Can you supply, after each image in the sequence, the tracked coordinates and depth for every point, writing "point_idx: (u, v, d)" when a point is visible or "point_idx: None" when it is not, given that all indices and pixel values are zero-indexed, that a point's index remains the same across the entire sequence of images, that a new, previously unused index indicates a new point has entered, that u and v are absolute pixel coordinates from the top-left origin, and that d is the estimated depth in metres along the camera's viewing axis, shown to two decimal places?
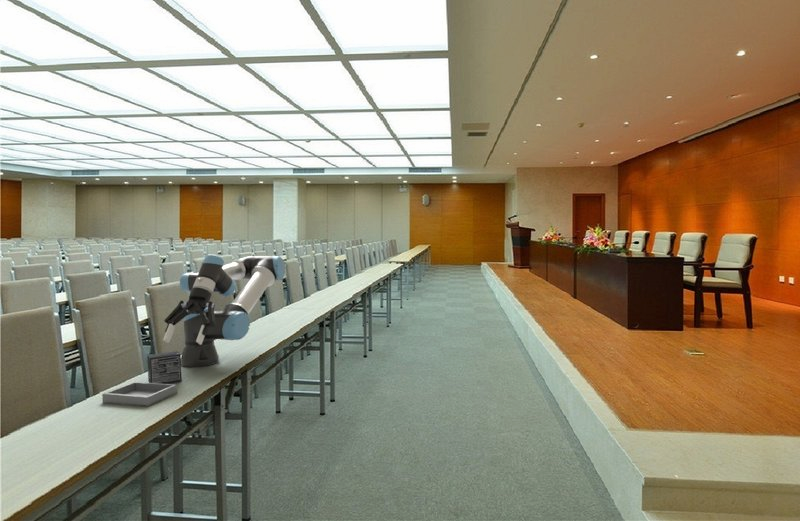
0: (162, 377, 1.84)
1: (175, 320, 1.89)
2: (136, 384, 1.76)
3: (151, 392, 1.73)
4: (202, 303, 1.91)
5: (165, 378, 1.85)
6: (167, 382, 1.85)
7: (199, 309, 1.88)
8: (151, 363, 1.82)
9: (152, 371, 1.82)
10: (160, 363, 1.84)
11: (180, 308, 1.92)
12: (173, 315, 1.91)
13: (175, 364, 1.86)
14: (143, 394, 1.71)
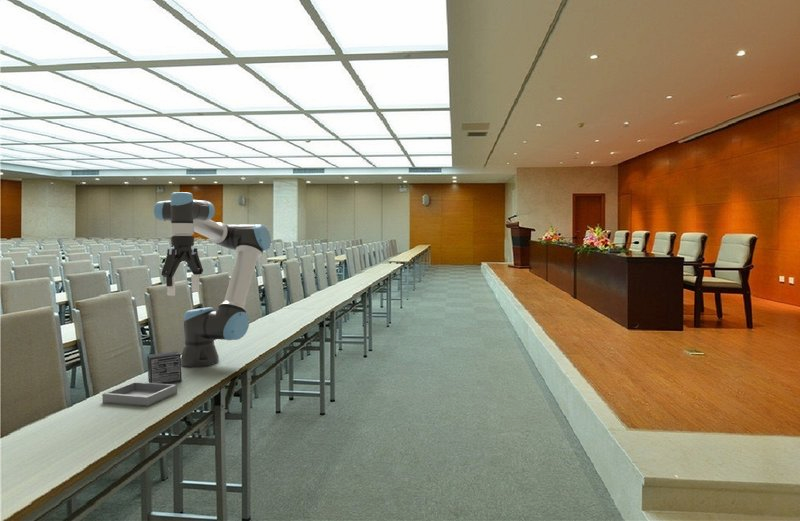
0: (162, 377, 1.84)
1: (192, 269, 1.91)
2: (136, 384, 1.76)
3: (151, 392, 1.73)
4: None
5: (165, 378, 1.85)
6: (167, 382, 1.85)
7: None
8: (151, 363, 1.82)
9: (152, 371, 1.82)
10: (160, 363, 1.84)
11: (192, 256, 1.91)
12: (194, 264, 1.92)
13: (175, 364, 1.86)
14: (143, 394, 1.71)
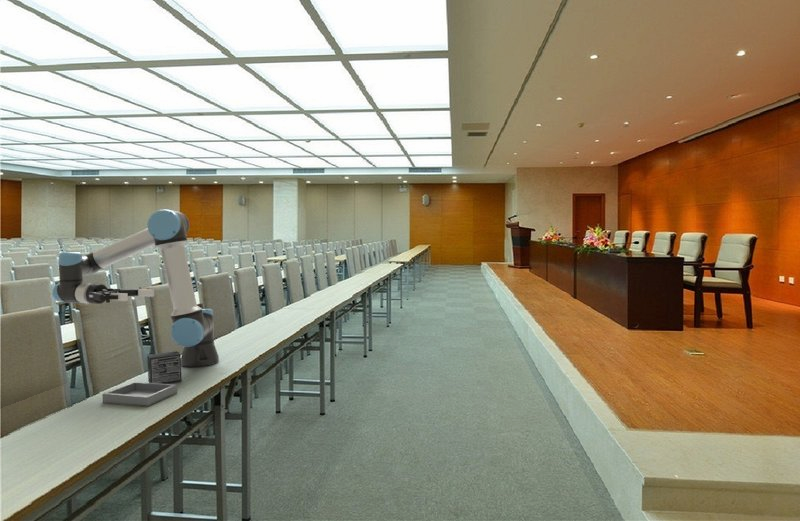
0: (162, 377, 1.84)
1: (133, 294, 1.96)
2: (136, 384, 1.76)
3: (151, 392, 1.73)
4: None
5: (165, 378, 1.85)
6: (167, 382, 1.85)
7: (105, 299, 1.88)
8: (151, 363, 1.82)
9: (152, 371, 1.82)
10: (160, 363, 1.84)
11: None
12: None
13: (175, 364, 1.86)
14: (143, 394, 1.71)
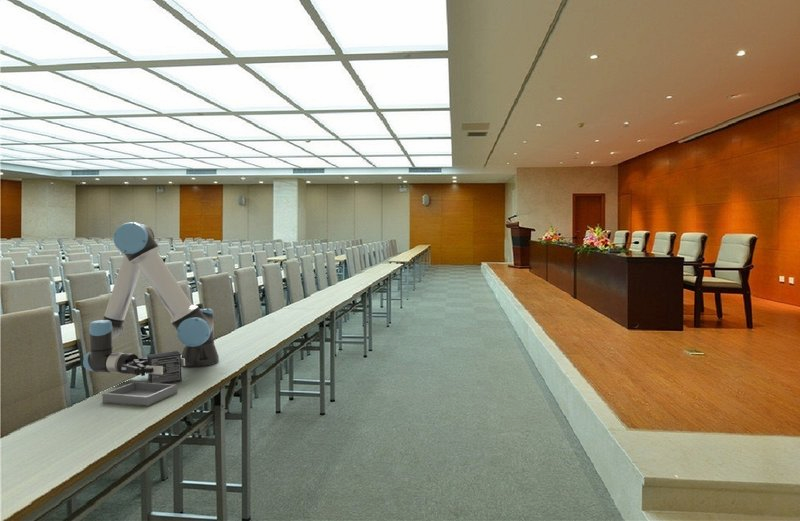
0: (162, 376, 1.84)
1: None
2: (136, 384, 1.76)
3: (151, 392, 1.73)
4: None
5: (166, 378, 1.85)
6: (167, 382, 1.85)
7: None
8: (151, 363, 1.82)
9: None
10: (160, 362, 1.84)
11: None
12: None
13: (175, 364, 1.86)
14: (143, 394, 1.71)
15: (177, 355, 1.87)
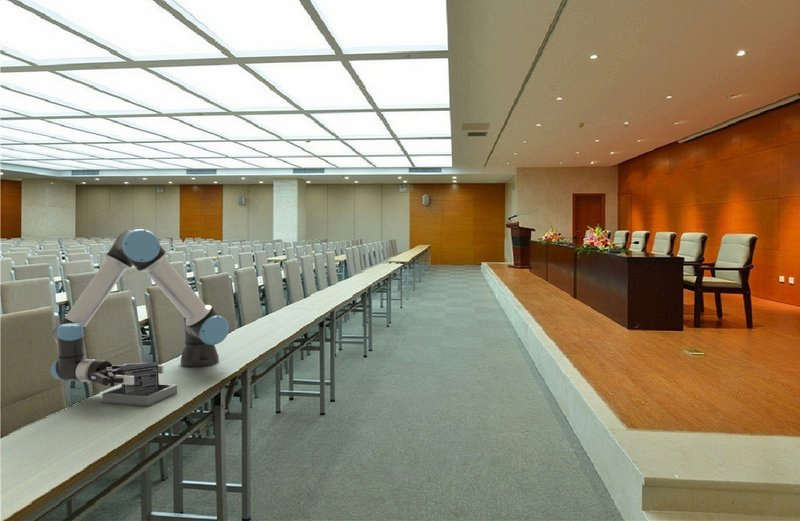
0: (137, 391, 1.65)
1: None
2: None
3: None
4: None
5: (141, 392, 1.66)
6: None
7: None
8: None
9: (126, 385, 1.64)
10: (135, 375, 1.65)
11: None
12: None
13: (152, 377, 1.68)
14: None
15: (154, 367, 1.68)
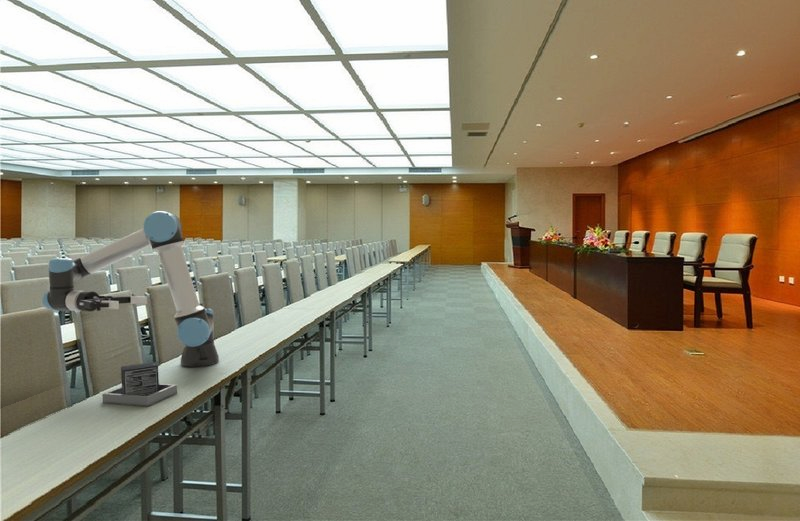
0: (137, 391, 1.65)
1: (125, 301, 1.90)
2: None
3: None
4: None
5: (141, 392, 1.66)
6: None
7: (96, 307, 1.82)
8: (124, 376, 1.63)
9: (126, 385, 1.64)
10: (135, 375, 1.65)
11: None
12: None
13: (152, 377, 1.68)
14: None
15: (154, 367, 1.68)
